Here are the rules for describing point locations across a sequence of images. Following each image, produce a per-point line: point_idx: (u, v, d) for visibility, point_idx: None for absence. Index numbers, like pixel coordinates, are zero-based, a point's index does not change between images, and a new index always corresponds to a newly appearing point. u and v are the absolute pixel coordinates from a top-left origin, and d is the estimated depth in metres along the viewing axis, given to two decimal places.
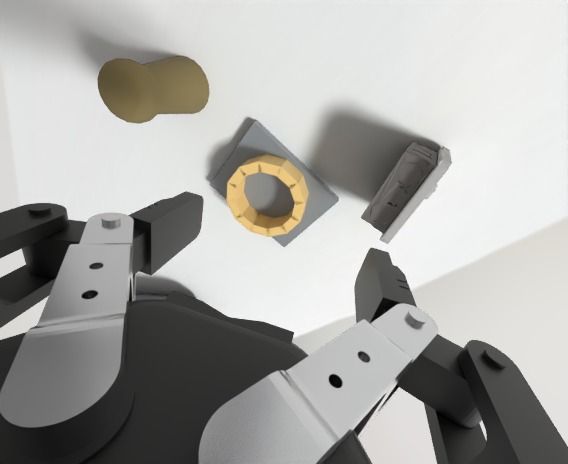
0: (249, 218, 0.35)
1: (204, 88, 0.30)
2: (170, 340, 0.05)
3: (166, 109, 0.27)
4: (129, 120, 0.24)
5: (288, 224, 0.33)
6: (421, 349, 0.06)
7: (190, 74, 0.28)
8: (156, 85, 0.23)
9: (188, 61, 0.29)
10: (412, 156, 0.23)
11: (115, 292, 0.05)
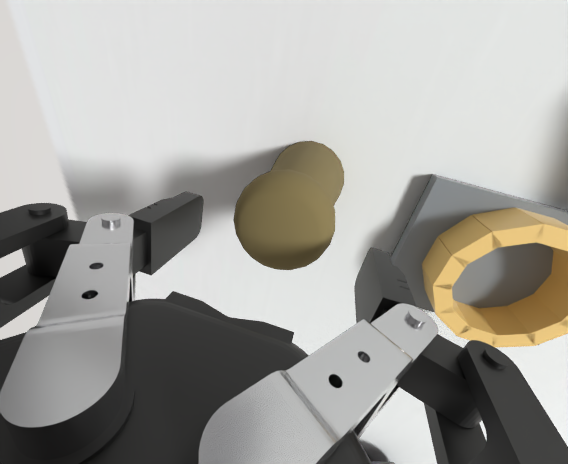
0: (482, 327, 0.20)
1: (340, 167, 0.20)
2: (170, 340, 0.05)
3: None
4: (299, 267, 0.13)
5: None
6: (421, 349, 0.06)
7: (324, 157, 0.18)
8: (324, 189, 0.13)
9: (309, 144, 0.20)
10: None
11: (115, 292, 0.05)
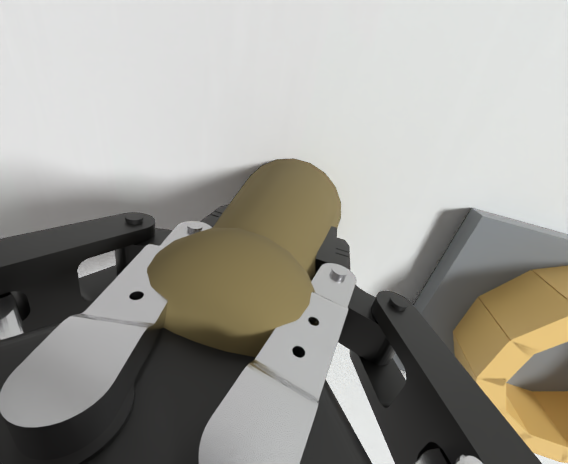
0: (546, 433, 0.13)
1: (335, 198, 0.14)
2: (170, 340, 0.05)
3: None
4: None
5: None
6: (332, 294, 0.07)
7: (310, 185, 0.12)
8: (299, 268, 0.07)
9: (289, 164, 0.13)
10: None
11: (157, 299, 0.05)
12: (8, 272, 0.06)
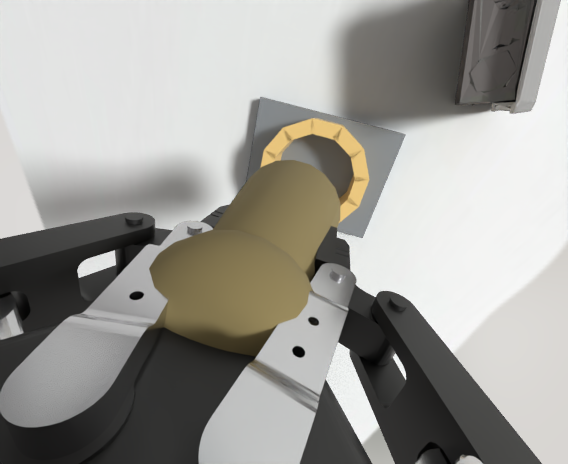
0: None
1: (334, 199, 0.14)
2: (170, 340, 0.05)
3: None
4: None
5: (355, 192, 0.24)
6: (332, 294, 0.07)
7: (310, 187, 0.12)
8: (298, 270, 0.07)
9: (289, 165, 0.13)
10: None
11: (157, 299, 0.05)
12: (8, 272, 0.06)
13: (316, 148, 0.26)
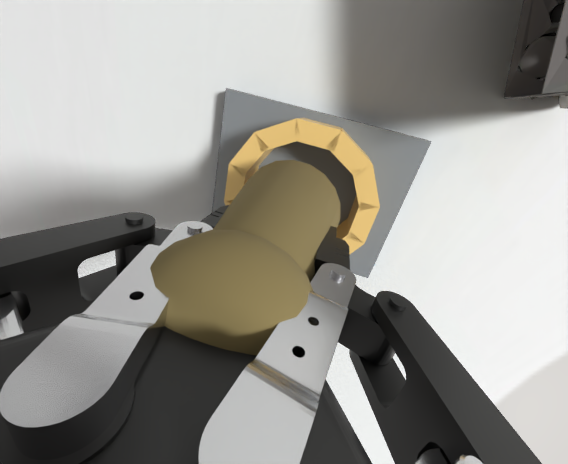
0: None
1: (334, 198, 0.14)
2: (170, 340, 0.05)
3: None
4: None
5: (359, 224, 0.17)
6: (332, 293, 0.07)
7: (310, 186, 0.12)
8: (298, 269, 0.07)
9: (289, 165, 0.13)
10: None
11: (157, 299, 0.05)
12: (8, 272, 0.06)
13: (305, 160, 0.19)
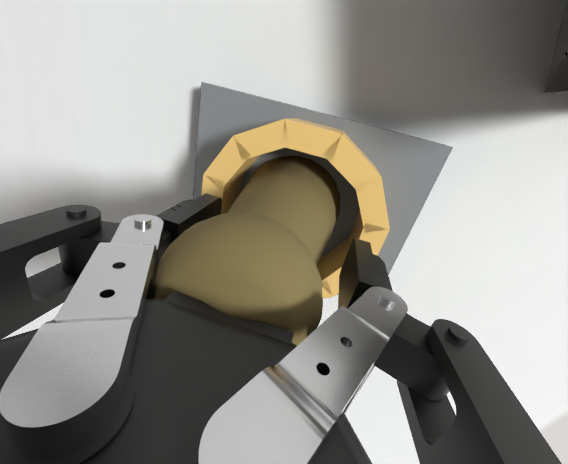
0: None
1: (334, 191, 0.15)
2: (170, 340, 0.05)
3: None
4: None
5: None
6: (388, 325, 0.07)
7: (312, 179, 0.13)
8: (303, 246, 0.08)
9: (292, 160, 0.14)
10: None
11: (131, 294, 0.05)
12: None
13: None
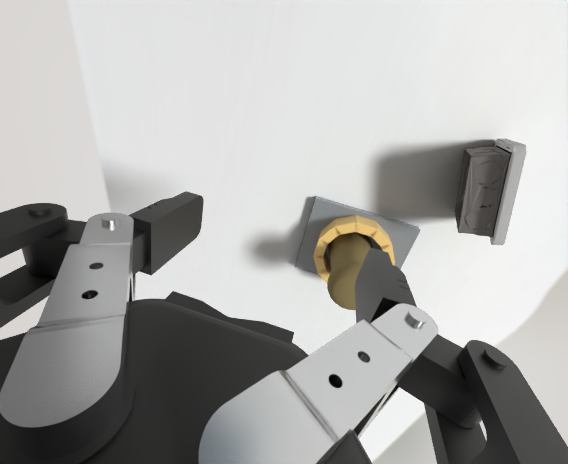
0: None
1: (371, 245, 0.35)
2: (170, 340, 0.05)
3: None
4: None
5: None
6: (421, 349, 0.06)
7: (364, 242, 0.33)
8: None
9: (354, 232, 0.34)
10: (481, 157, 0.24)
11: (115, 292, 0.05)
12: None
13: None
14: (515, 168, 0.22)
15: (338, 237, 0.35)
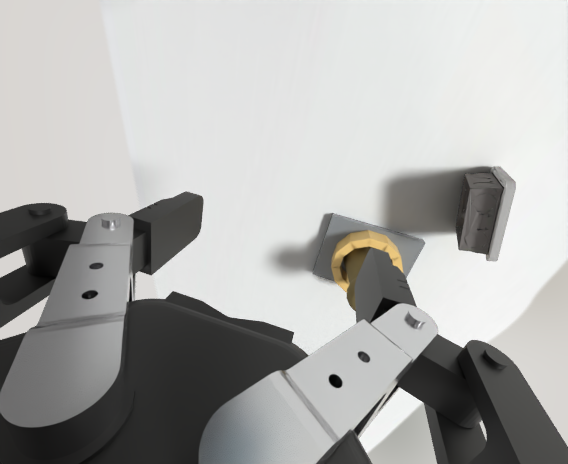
0: None
1: None
2: (170, 340, 0.05)
3: None
4: None
5: None
6: (421, 349, 0.06)
7: None
8: None
9: None
10: (478, 189, 0.28)
11: (115, 292, 0.05)
12: None
13: None
14: (506, 200, 0.27)
15: (353, 250, 0.39)
